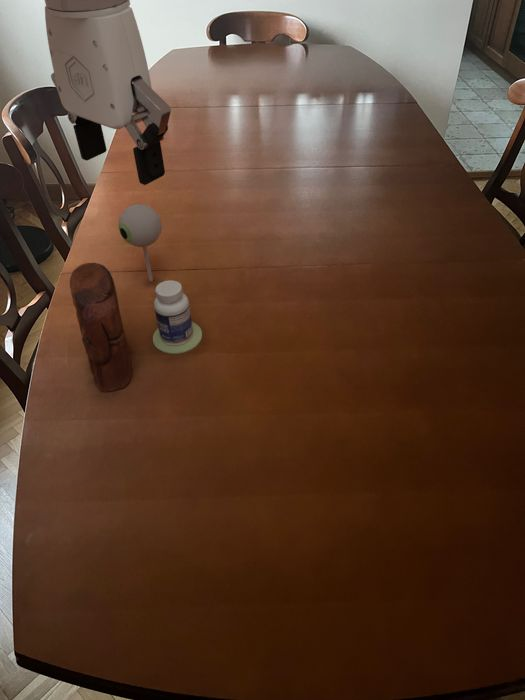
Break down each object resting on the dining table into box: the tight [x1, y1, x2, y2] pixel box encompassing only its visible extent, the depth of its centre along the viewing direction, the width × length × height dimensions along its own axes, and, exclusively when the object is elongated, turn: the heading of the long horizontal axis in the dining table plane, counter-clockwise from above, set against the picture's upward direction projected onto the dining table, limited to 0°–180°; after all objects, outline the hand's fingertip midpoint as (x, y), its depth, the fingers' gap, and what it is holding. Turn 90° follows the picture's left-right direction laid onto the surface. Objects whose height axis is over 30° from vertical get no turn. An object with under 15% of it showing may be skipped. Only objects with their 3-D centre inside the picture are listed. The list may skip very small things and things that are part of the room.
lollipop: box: [117, 203, 163, 282], centre depth 102 cm, size 7×7×15 cm
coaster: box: [152, 321, 203, 355], centre depth 96 cm, size 8×8×1 cm
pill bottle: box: [153, 279, 193, 346], centre depth 92 cm, size 5×5×10 cm
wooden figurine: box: [69, 262, 133, 393], centre depth 85 cm, size 12×6×18 cm, turn 16°
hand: (122, 167), depth 65 cm, fingers open, 9 cm apart
